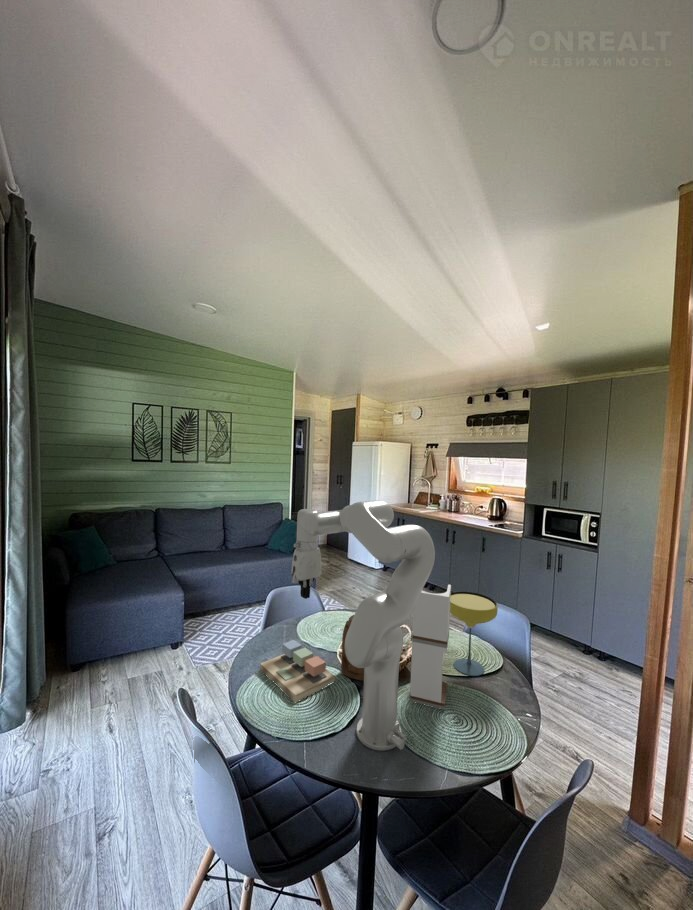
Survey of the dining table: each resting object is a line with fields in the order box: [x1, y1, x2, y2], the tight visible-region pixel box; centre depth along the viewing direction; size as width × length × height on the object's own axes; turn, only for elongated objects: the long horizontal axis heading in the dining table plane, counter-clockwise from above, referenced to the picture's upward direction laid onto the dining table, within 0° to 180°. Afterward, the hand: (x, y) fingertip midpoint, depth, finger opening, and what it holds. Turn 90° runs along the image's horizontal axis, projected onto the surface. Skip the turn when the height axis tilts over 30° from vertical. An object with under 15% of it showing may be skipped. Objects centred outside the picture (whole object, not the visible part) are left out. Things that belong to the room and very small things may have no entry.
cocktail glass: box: [450, 591, 499, 677], centre depth 138 cm, size 18×18×25 cm
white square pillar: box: [409, 584, 452, 710], centre depth 121 cm, size 11×11×35 cm
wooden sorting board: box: [259, 653, 336, 703], centre depth 128 cm, size 22×16×3 cm
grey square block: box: [281, 639, 302, 658], centre depth 135 cm, size 5×5×3 cm
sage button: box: [293, 647, 314, 667], centre depth 130 cm, size 5×5×3 cm
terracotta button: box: [305, 655, 327, 677], centre depth 125 cm, size 5×5×3 cm
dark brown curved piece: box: [340, 614, 365, 681], centre depth 131 cm, size 11×8×20 cm
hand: (305, 597), depth 130 cm, fingers closed
